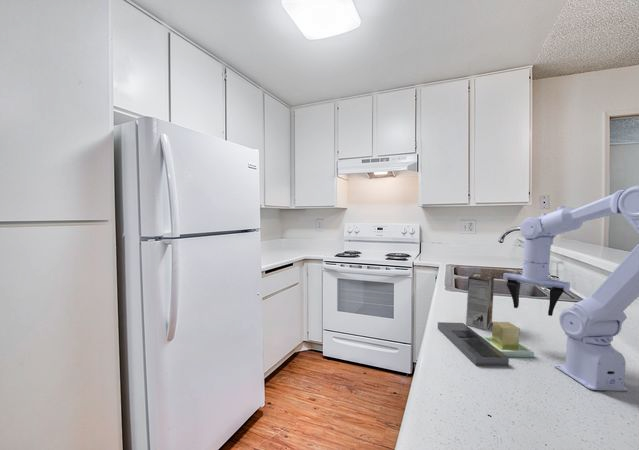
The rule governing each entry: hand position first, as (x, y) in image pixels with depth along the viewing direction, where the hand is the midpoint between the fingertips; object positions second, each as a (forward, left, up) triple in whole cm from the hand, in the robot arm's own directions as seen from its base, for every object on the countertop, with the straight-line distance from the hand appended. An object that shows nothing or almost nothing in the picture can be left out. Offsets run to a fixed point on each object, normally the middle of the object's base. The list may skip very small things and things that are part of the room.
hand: (532, 310), depth 80 cm
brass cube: (-1, +8, -10) cm, 13 cm away
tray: (-1, +8, -10) cm, 13 cm away
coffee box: (+17, +5, -10) cm, 20 cm away
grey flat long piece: (+1, +17, -10) cm, 20 cm away
